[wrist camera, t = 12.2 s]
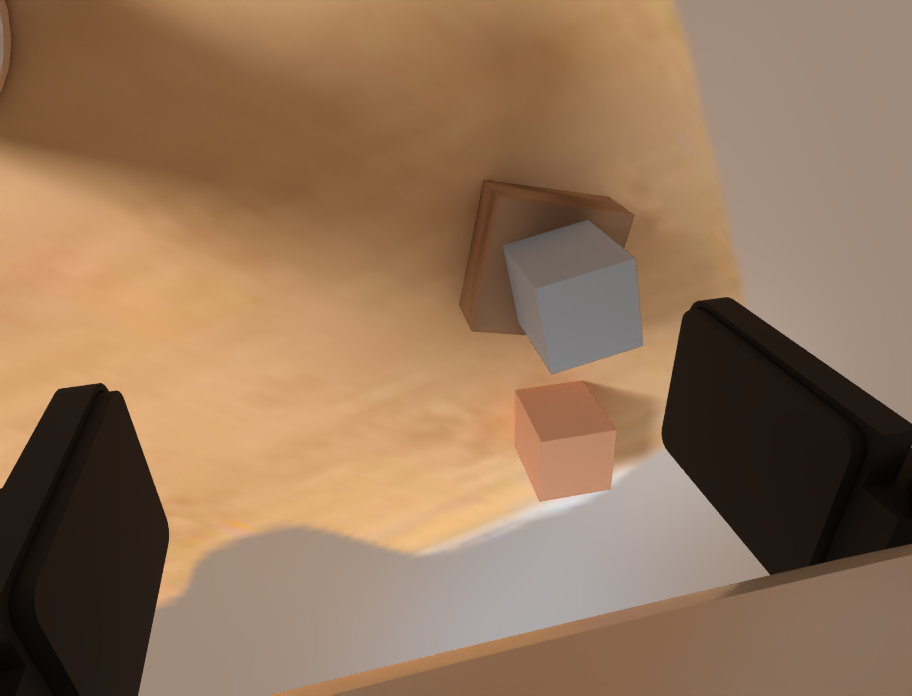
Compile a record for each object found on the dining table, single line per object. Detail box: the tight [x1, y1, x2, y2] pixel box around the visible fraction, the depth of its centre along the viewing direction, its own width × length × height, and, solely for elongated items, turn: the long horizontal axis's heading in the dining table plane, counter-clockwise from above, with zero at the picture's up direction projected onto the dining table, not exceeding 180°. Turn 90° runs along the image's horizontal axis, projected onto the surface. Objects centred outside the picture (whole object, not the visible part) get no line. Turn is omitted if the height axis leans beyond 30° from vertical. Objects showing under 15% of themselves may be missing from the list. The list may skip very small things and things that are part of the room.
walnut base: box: [460, 180, 634, 335], centre depth 38 cm, size 8×8×4 cm
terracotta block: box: [515, 381, 617, 502], centre depth 43 cm, size 5×5×6 cm
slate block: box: [503, 220, 643, 374], centre depth 33 cm, size 5×5×6 cm
